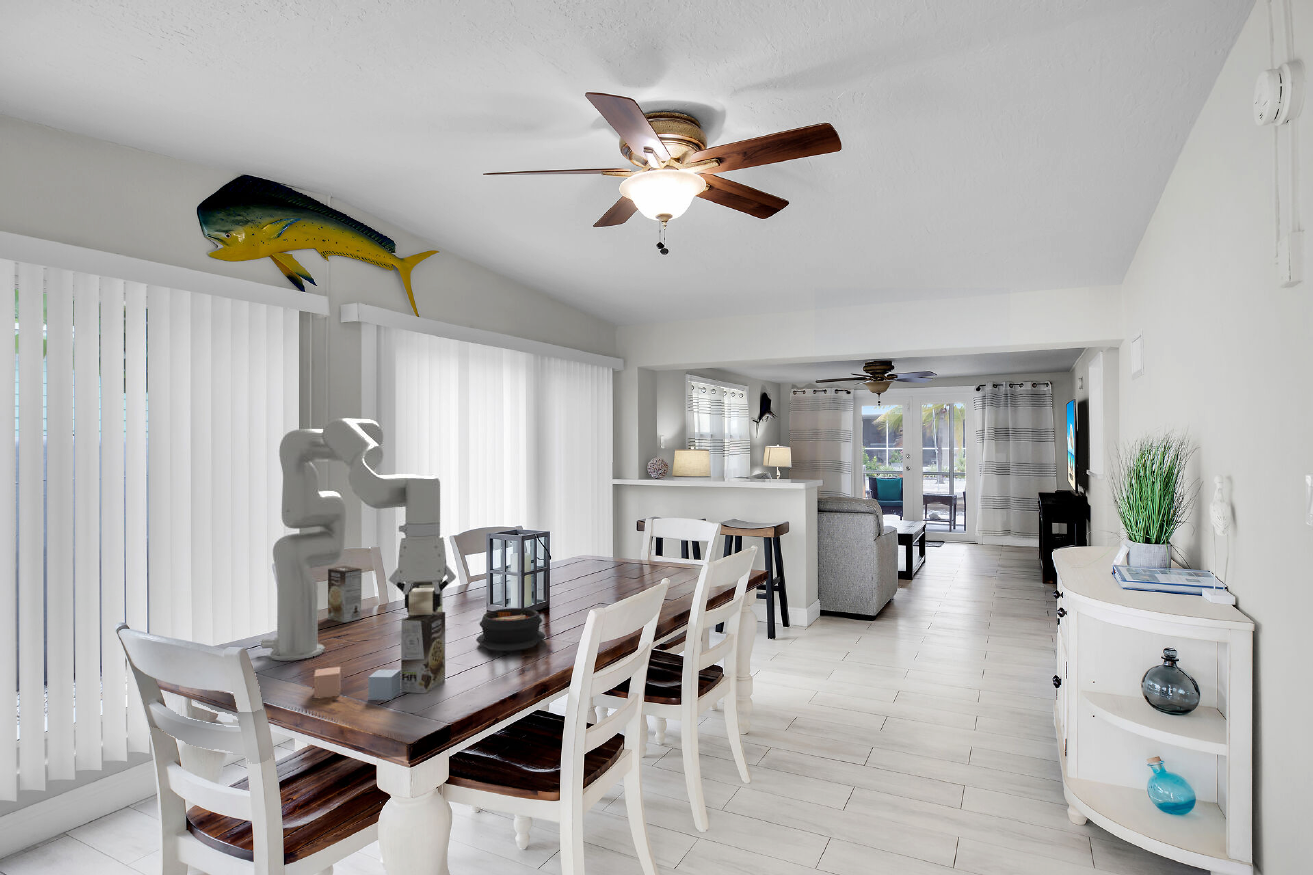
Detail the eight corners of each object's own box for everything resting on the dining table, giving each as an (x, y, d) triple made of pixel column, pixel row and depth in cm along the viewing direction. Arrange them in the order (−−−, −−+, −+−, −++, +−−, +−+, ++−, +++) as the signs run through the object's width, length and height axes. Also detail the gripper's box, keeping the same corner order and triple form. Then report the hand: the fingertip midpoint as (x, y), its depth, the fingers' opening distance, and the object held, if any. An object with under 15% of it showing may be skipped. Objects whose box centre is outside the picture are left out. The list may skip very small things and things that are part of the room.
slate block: (368, 700, 151) (368, 676, 151) (378, 691, 156) (378, 669, 156) (391, 700, 151) (391, 676, 151) (400, 692, 156) (400, 669, 156)
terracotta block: (314, 699, 152) (314, 676, 152) (315, 691, 157) (315, 669, 157) (339, 696, 154) (339, 673, 154) (340, 688, 158) (340, 666, 158)
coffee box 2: (426, 694, 155) (426, 620, 155) (399, 692, 156) (399, 619, 156) (446, 680, 163) (446, 611, 164) (421, 678, 165) (421, 609, 165)
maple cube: (408, 615, 157) (408, 592, 157) (413, 609, 162) (413, 588, 162) (431, 614, 158) (431, 592, 158) (436, 609, 163) (436, 587, 163)
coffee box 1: (326, 619, 222) (326, 568, 223) (344, 615, 228) (344, 565, 228) (344, 623, 218) (344, 571, 218) (362, 618, 223) (362, 567, 223)
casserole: (477, 634, 204) (477, 605, 204) (542, 630, 208) (542, 602, 208) (474, 660, 179) (474, 627, 179) (548, 655, 183) (548, 622, 183)
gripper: (379, 533, 155) (379, 615, 155) (458, 531, 157) (458, 613, 157) (388, 529, 163) (388, 608, 162) (463, 528, 165) (463, 605, 165)
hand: (422, 609), depth 160 cm, fingers closed on maple cube, 4 cm apart
